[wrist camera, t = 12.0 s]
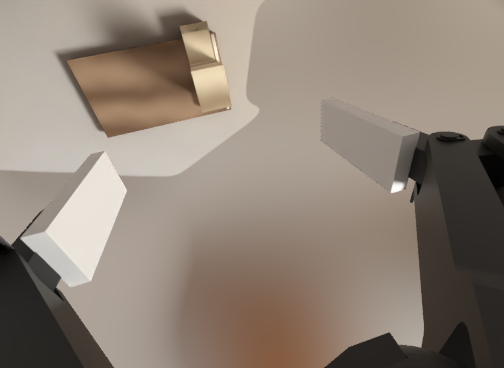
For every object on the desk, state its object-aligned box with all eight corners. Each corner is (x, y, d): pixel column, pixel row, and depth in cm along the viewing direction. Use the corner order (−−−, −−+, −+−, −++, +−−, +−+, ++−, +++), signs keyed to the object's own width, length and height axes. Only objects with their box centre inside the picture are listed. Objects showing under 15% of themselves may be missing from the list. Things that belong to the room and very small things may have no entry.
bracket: (179, 27, 36) (176, 21, 25) (205, 22, 36) (213, 14, 26) (201, 105, 43) (206, 127, 32) (222, 100, 43) (234, 120, 32)
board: (72, 59, 35) (66, 60, 34) (213, 32, 38) (215, 32, 36) (111, 133, 42) (107, 137, 40) (229, 106, 44) (231, 109, 43)
